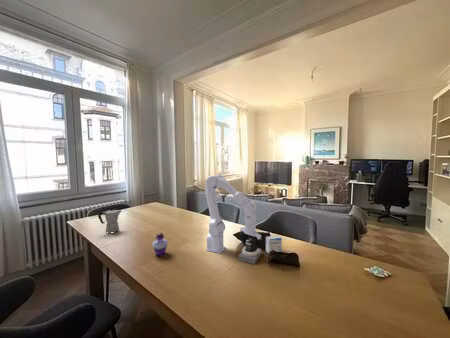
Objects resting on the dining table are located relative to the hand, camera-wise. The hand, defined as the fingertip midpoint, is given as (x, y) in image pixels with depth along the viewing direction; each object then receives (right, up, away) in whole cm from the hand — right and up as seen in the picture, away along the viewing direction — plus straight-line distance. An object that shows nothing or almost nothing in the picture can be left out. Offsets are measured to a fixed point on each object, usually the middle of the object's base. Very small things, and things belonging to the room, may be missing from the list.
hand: (250, 247), depth 114 cm
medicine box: (+14, -5, +6) cm, 16 cm away
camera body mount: (0, -5, 0) cm, 5 cm away
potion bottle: (-50, -5, +4) cm, 51 cm away
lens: (0, -3, 0) cm, 3 cm away
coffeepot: (-98, -4, +40) cm, 106 cm away
